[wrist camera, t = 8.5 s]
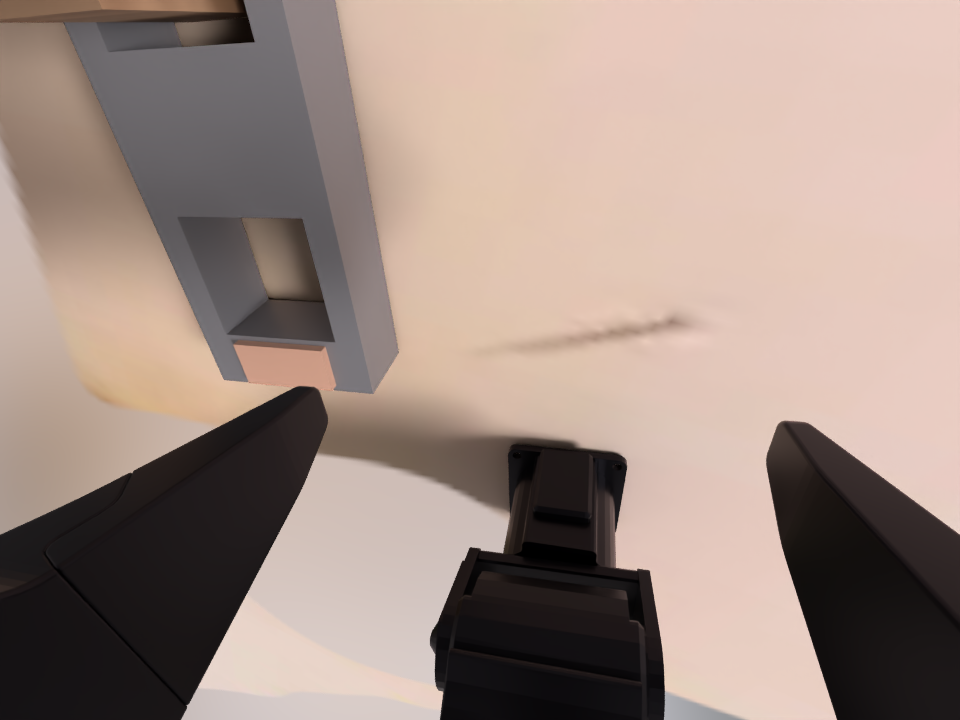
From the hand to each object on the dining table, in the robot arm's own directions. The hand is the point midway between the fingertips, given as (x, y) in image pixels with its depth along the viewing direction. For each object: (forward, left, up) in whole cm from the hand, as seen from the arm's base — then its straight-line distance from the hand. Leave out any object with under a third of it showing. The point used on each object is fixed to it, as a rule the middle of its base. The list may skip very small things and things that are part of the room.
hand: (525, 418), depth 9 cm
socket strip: (+4, +12, -12) cm, 18 cm away
